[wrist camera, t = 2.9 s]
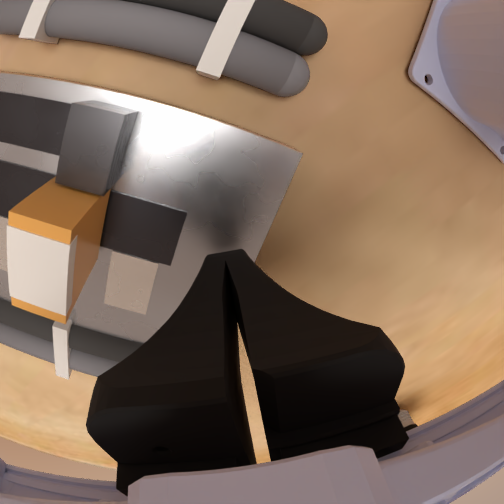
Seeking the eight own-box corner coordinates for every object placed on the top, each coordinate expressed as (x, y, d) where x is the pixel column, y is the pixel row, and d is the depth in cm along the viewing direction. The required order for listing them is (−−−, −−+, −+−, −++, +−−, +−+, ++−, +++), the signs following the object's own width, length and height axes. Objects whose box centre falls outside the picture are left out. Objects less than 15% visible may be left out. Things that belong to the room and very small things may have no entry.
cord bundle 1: (196, 335, 16) (196, 363, 14) (179, 379, 18) (179, 406, 16) (-28, 266, 12) (-45, 286, 10) (-19, 318, 14) (-33, 338, 12)
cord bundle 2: (325, 25, 10) (346, 16, 8) (289, 107, 11) (304, 111, 10) (28, -38, 6) (7, -49, 4) (-6, 39, 7) (-31, 37, 6)
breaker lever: (112, 183, 10) (71, 231, 7) (98, 258, 12) (65, 325, 8) (63, 170, 10) (7, 211, 6) (54, 245, 11) (10, 305, 7)
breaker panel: (294, 147, 12) (321, 166, 9) (208, 344, 17) (212, 391, 14) (-19, 69, 8) (-63, 73, 5) (-31, 271, 12) (-59, 304, 9)
